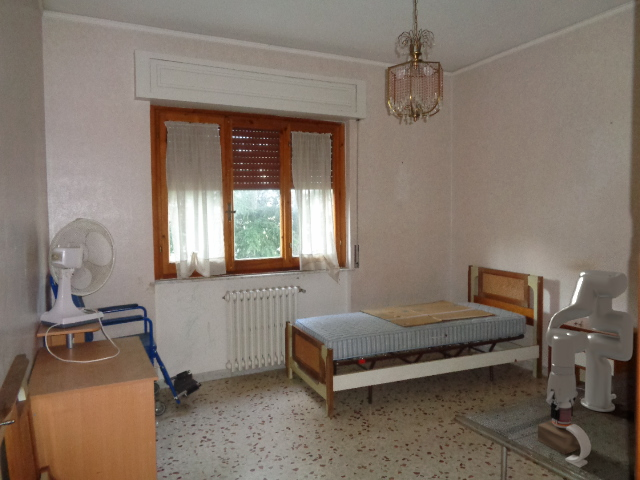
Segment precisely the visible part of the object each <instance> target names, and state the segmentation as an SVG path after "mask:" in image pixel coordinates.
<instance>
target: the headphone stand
mask: <svg viewBox="0 0 640 480" xmlns="http://www.w3.org/2000/svg"><path fill="white" fill-rule="evenodd" d="M566 430H568V431H570V432H571V433H572V434H573V435H574V436H575V437H576V438H577V440H578V442H579V444H580V447H581V449H580V454H579V455H576V454H571V455H569V456H568V457H566V458H565V459H564V461H565V462H567V463H569V464H571V465H573V466H575V467H577V468H582V467H583V466H585V465H588V460H586V459H585V458H587V457H588V456H589V455H590V453H591V451H592V444H591V441H590V437H589V436H588V434H587V433H585V432H584V431H585V430H584V429H583V428H581V427H580V426H579V425H577V424H575V423H571V425H570V426H568V427H566ZM583 430H584V431H583Z"/></svg>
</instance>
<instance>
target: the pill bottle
mask: <svg viewBox="0 0 640 480" xmlns="http://www.w3.org/2000/svg"><path fill="white" fill-rule="evenodd" d="M555 400H556V398H555ZM556 403H557V402H554V404H555V405H556ZM559 410H560V420H559V421H557V420H555V419H553V418H551V421H552V423H553V424H554V425H555V426H557V427H560V428H566V427H568V426H570V425H572V416H571V403H570V402H569V398H566V400H565V401H563V402H560V405H559Z"/></svg>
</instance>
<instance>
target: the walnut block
mask: <svg viewBox="0 0 640 480" xmlns="http://www.w3.org/2000/svg"><path fill="white" fill-rule="evenodd" d="M583 431H584V432H585V433H586V430H585V429H583ZM586 434H587V433H586ZM537 441H538V442H540V443H541V444H544V445H545V446H547V447H550V448H551V449H553V450H554V451H556V452H557V453H558V452H559V453H560V454H562V455H567V454H569V453H573V452H575V451H578V450H581V447H580V444H579V442H578V440H577V438H576V437H575V436H574V435H573V434H572V433H571V432H570V431H568V430H566V428H560V427H557V426H555V425H554V424H553V423H552V420H549V421H545V422H543V423H540V424H538V425H537Z"/></svg>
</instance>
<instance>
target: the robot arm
mask: <svg viewBox="0 0 640 480" xmlns="http://www.w3.org/2000/svg"><path fill="white" fill-rule="evenodd" d="M628 284H629V279H628V276H627V275H626V274H625V273H623V272H621V271H607V270H599V269H584V270H582V271H580V272H579V274H578V278H577V280H576V282H575V286H574V288H573V290H572V294H571V298H570V301H569V304H568V305H566V306H565V307H563V308H561V309H560V310H558V311H557V312H556V313H554V314H553V316H552V317H550V321H549V323H548V327H547V329H546V332H545V336H544V337H545V342H546V344H547V345H548V346H549V347H551V356H550V357H551V359H550V360H551V361H550V362H551V364H550V365H551V366H550V367H551V368H550V372H549V377H548V381H547V388H546V399H545V402H546V403H547V405H548V406H549V408H550V418H551V419H552V418H553V419H555V420H557V421H559V420H560V410H559V405H560V402H563V401H565V400H566V398H569V402H570V403H571V417H573V413H574V405H575V401H576V400H577V399H576V398H577V397H578V394H579V392H578V391H577V382H576V381H577V380H576V379H577V378H576V374H575V371H576V367H575V365H576V361H575V360H576V354H580V353H583V352H585V353H584V354H585V379H584V380H585V384H584V386H585V387H584V388H585V389H584V397H582V398H581V399H580V404H581V405H582V406H583V407H584V408H587V409H588V410H591V411H596V412H601V413H602V412H603V413H605V412H606V413H608V412H609V413H610V412H613V411H615V409H616V405H615V404H614V403H613V402H612V401H613V400H614V399H616V398H617V395H616V394H615V393H612V371H613V370H612V369H613V368H612V365H611V363H610V361H609V359H611V360H612V359H613V360H617V361H623V362H628V361H629V360H631V359H632V357H633V350H634V320H633V317H632V315H631V314H630V313H629V312H626V311H623V310H617V309H616V310H614V309H613V299H617V298H618V297H619V296H621V295H622V294H623V295H624V293H625V292H626V291H627V289H628ZM587 317H588V325H589V327H590V328H591V329H592V330H595V331H599V333H598V332H590V333H587V334H586V333H584V332H581V331H577V330H570V329H566V328H560V327H561V326H562V325H564V324H565V323H567V322H570V321H571V322H572V321H575V320H578V319H579V320H580V319H583V318H587ZM600 332H604V333H600ZM605 333H609V334H605ZM610 334H614V335H610ZM615 334H616V335H617V336H616V335H615ZM555 398H556V400H555ZM554 402H557V403H556V405H555V404H554Z"/></svg>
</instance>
